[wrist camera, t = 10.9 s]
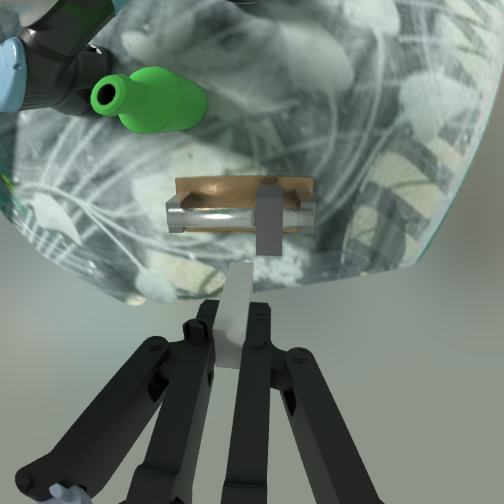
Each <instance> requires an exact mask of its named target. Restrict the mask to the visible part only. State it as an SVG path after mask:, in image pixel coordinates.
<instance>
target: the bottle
mask: <svg viewBox="0 0 504 504" xmlns="http://www.w3.org/2000/svg"><path fill="white" fill-rule="evenodd" d="M91 105H92V107H93V109H94V110H95V111H96V112H97V113H99V114H102V115H105V116H108V117H111V116H116V115H119V117H120V120H121V122H122V123H123V124H124V125H125V126H126V127H127V128H128V129H129V130H131V131H134V132H137V133H139V134H145V133H158V132H167V131H177V130H185V129H188V128H192V127H194V126H195V125H196V124H198V123H199V122H200V121H201V120H202V118H203V117H204V116H205V114H206V110H207V107H208V104H207V97H206V95H205V93H204V91H203V89H201V88H200V87H199V86H198V85H197V84H195V83H193V82H191V81H189V80H188V79H186V78H184V77H182V76H180V75H178V74H176V73H174V72H172V71H170V70H168V69H165V68H161V67H158V66H153V67H144V68H142V69H140V70H138V71H136V72H134V73H133V74H132V75H131V76H130V77H129V76H127V75H124V74H115V75H109V76H106V77H104V78H102V79H101V80H100V81H99V82H98V83H97V84H96V85H95V87H94V89H93V90H92V94H91Z"/></svg>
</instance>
